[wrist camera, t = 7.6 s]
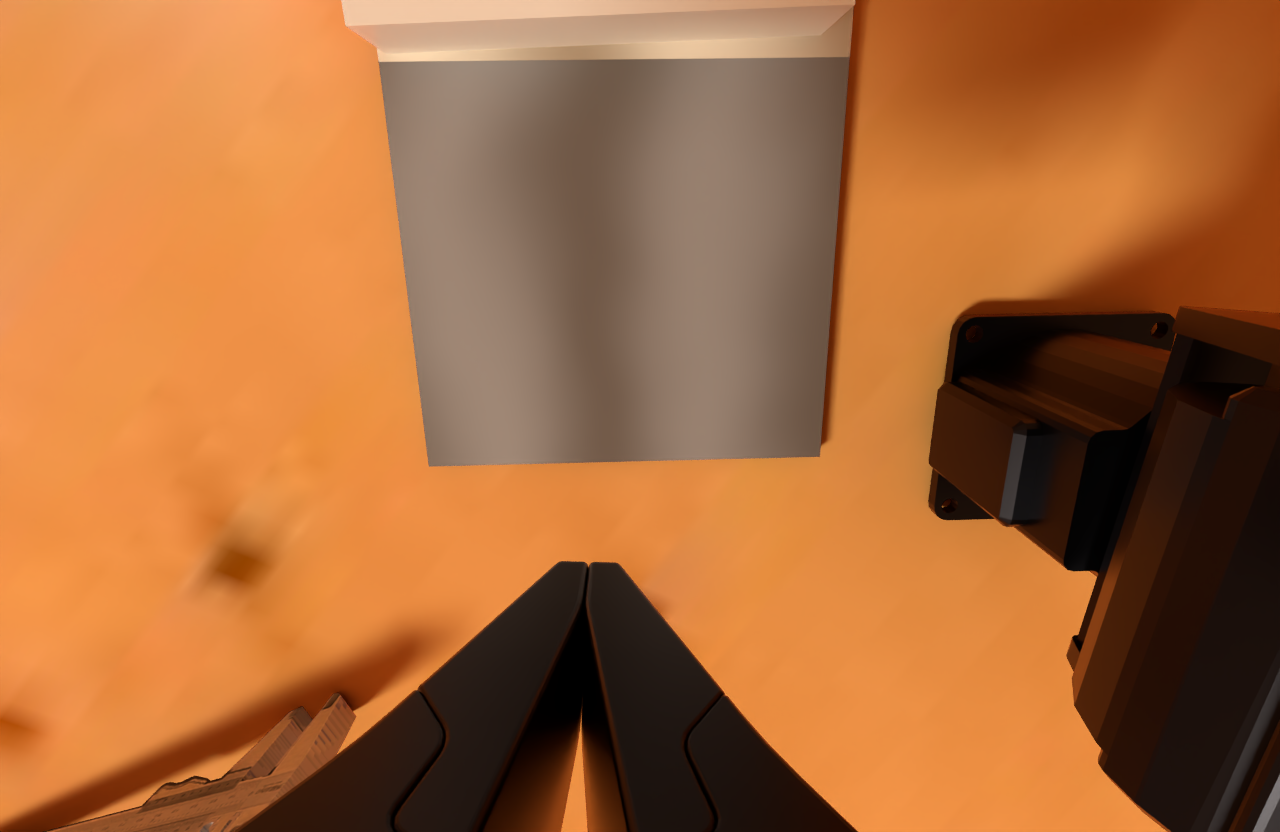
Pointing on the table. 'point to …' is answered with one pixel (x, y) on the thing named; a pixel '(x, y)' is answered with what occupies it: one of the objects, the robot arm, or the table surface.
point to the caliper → (238, 779)
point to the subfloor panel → (620, 245)
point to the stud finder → (579, 22)
